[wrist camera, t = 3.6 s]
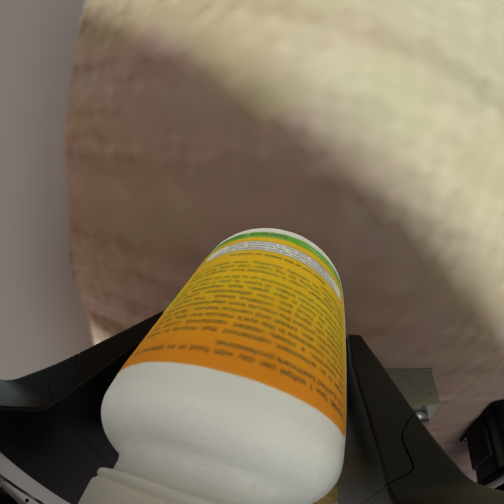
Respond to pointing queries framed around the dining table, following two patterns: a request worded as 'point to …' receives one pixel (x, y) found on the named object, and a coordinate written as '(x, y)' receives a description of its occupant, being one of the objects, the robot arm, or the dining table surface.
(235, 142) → the dining table surface
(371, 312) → the dining table surface
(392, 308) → the dining table surface
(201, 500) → the supplement bottle
